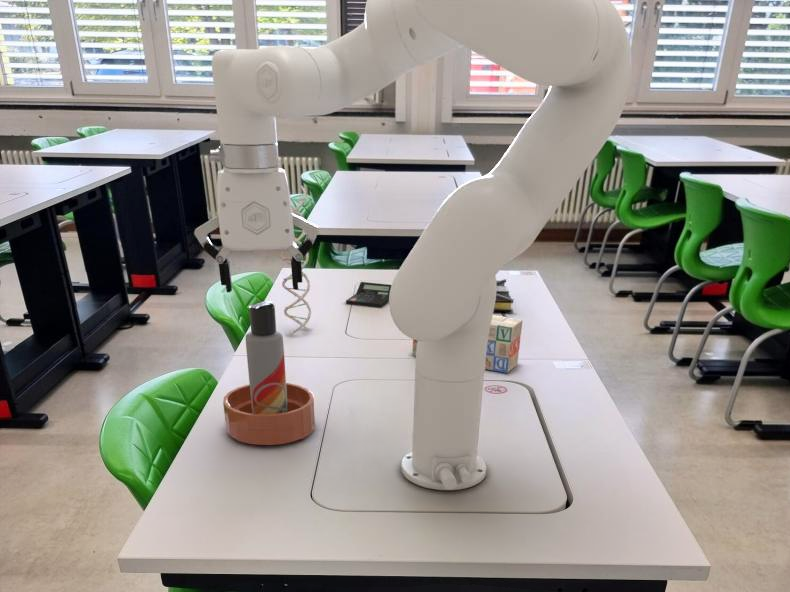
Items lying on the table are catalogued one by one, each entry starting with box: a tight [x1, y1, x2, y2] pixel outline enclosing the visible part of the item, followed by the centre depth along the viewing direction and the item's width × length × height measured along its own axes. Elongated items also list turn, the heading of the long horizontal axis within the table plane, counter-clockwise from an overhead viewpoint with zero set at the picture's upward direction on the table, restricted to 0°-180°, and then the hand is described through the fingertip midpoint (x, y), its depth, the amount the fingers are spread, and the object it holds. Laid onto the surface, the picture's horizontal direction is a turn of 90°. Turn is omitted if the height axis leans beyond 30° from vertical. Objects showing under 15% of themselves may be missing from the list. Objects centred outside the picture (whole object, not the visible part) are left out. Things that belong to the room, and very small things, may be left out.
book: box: [493, 278, 514, 314], centre depth 188 cm, size 22×17×5 cm
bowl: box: [222, 382, 316, 446], centre depth 118 cm, size 14×14×6 cm
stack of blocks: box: [412, 314, 523, 374], centre depth 147 cm, size 21×6×12 cm, turn 62°
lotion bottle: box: [245, 300, 288, 415], centre depth 114 cm, size 6×6×20 cm
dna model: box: [279, 184, 312, 336], centre depth 156 cm, size 7×6×30 cm
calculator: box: [345, 281, 392, 308], centre depth 188 cm, size 9×12×3 cm
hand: (262, 288), depth 107 cm, fingers open, 9 cm apart
